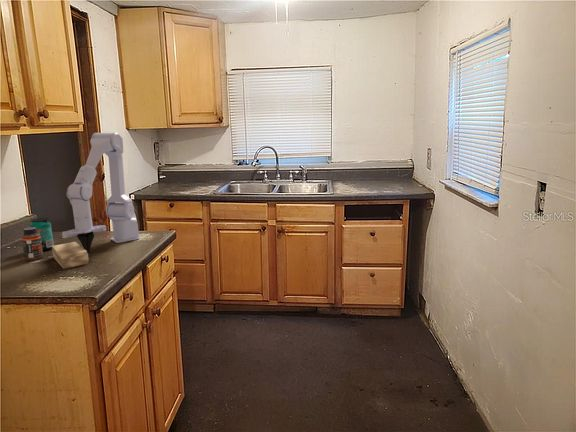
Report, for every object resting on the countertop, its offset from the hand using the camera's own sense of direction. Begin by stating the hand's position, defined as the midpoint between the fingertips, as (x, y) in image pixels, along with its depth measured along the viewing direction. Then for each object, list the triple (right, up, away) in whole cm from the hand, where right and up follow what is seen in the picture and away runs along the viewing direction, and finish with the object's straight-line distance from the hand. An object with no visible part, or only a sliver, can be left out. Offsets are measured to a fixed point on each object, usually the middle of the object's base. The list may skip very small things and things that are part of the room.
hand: (87, 253), depth 159 cm
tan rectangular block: (-5, -2, -3) cm, 6 cm away
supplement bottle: (-20, -2, 0) cm, 20 cm away
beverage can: (-22, 0, +11) cm, 24 cm away
